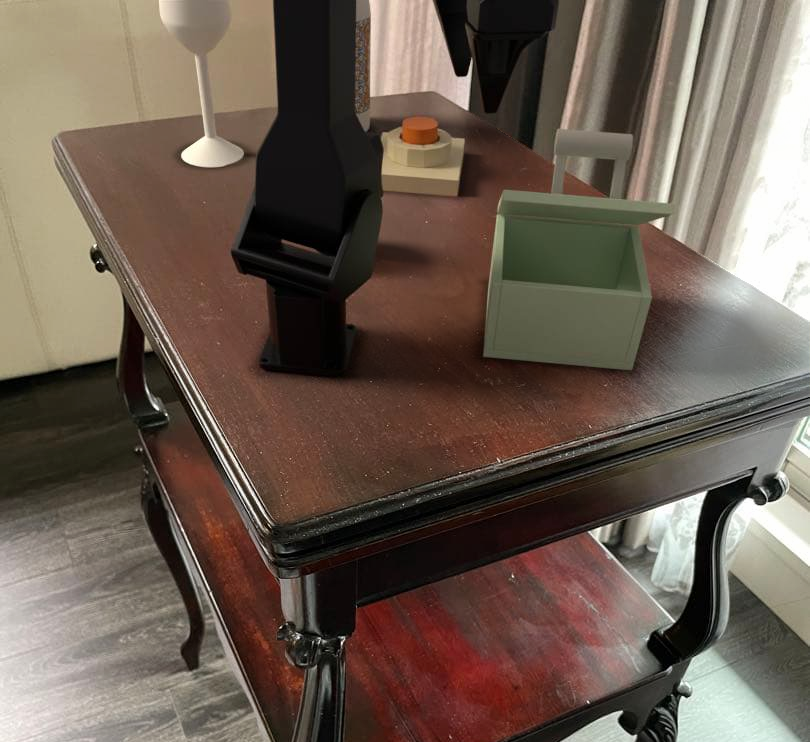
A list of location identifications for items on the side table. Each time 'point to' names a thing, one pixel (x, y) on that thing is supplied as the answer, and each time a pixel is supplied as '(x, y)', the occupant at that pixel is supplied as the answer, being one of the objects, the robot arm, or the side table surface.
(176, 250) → the side table surface
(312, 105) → the robot arm
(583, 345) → the compartment
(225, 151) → the champagne flute
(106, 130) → the side table surface
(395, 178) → the control block
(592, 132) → the compartment lid
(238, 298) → the side table surface
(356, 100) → the bath foam
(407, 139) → the button
